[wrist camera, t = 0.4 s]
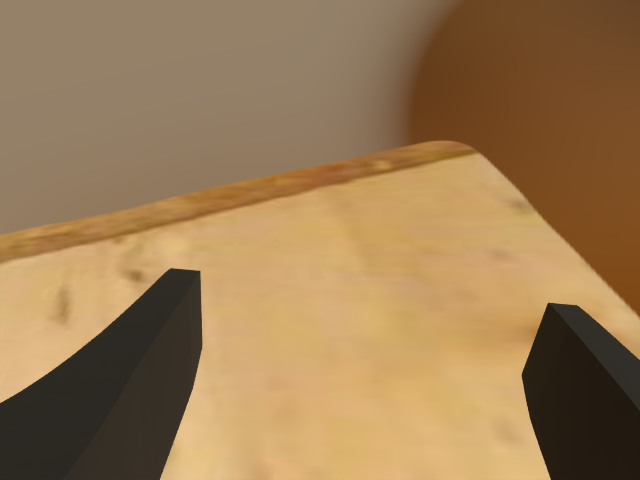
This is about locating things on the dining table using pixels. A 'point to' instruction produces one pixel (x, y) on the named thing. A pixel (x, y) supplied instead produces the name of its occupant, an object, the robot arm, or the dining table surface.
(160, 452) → the robot arm
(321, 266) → the dining table surface
